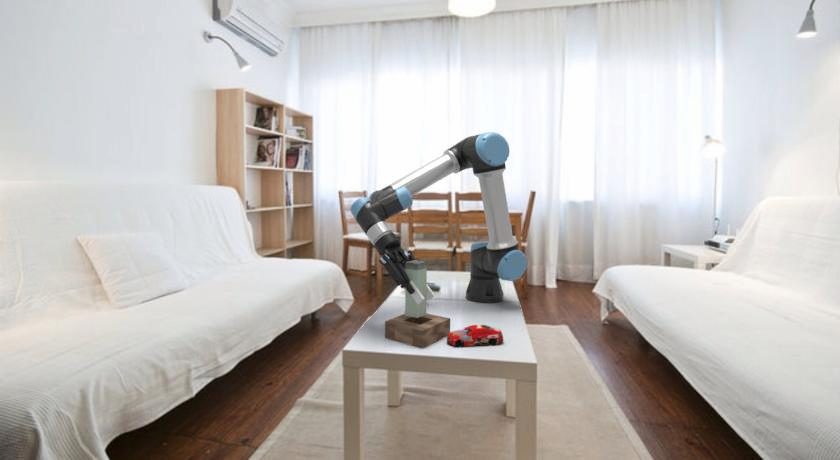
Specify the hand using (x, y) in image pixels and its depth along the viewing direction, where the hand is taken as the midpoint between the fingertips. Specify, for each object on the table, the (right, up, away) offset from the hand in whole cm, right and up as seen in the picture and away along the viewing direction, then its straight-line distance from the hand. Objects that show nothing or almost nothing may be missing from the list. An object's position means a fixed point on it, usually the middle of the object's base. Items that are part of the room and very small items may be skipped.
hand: (426, 299), depth 123 cm
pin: (-3, -5, +3) cm, 6 cm away
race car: (+14, -13, -1) cm, 19 cm away
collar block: (-2, -12, +4) cm, 12 cm away
